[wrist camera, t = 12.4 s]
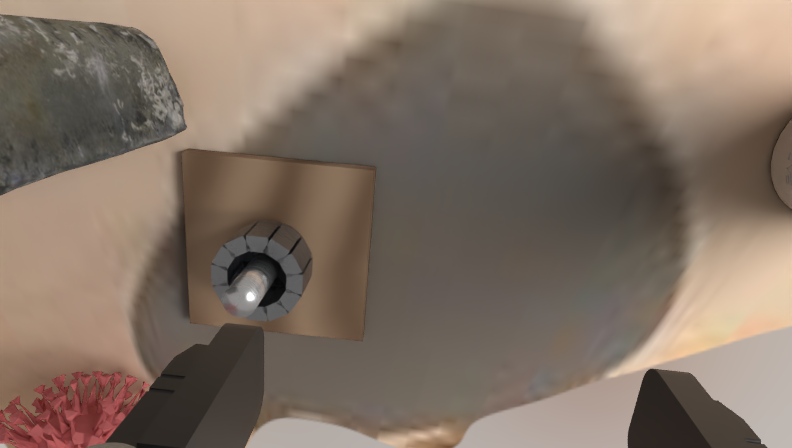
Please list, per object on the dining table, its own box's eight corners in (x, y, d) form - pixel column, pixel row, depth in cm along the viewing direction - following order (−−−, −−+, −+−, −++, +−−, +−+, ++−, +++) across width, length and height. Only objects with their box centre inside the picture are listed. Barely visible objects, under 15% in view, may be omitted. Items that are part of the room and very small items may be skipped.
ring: (314, 225, 37) (304, 241, 34) (310, 303, 39) (301, 325, 36) (227, 216, 37) (210, 231, 34) (229, 294, 39) (212, 315, 36)
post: (308, 224, 39) (278, 270, 31) (306, 283, 40) (277, 340, 32) (245, 218, 39) (198, 261, 31) (245, 276, 40) (201, 332, 33)
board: (376, 166, 38) (374, 170, 37) (363, 333, 43) (362, 341, 42) (188, 148, 39) (181, 151, 38) (196, 315, 43) (189, 323, 42)
